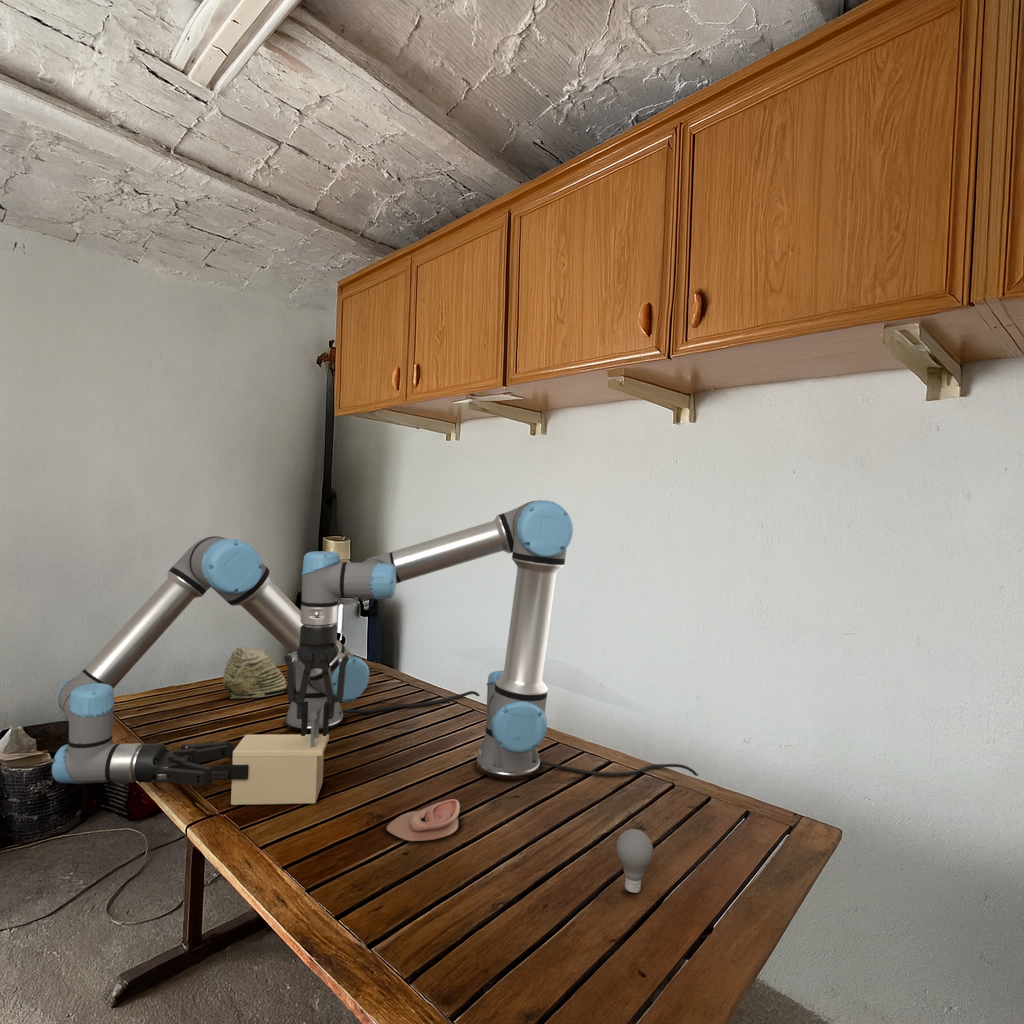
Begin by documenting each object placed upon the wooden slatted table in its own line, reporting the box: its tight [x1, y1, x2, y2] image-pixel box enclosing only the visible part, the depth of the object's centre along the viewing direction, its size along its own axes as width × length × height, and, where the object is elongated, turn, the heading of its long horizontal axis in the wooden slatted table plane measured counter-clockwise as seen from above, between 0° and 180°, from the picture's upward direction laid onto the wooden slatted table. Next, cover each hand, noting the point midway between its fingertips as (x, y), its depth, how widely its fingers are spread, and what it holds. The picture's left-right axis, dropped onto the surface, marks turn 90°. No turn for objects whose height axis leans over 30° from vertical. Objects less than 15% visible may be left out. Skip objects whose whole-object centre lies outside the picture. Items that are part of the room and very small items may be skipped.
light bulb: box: [615, 828, 654, 894], centre depth 106 cm, size 6×6×10 cm
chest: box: [230, 751, 325, 806], centre depth 134 cm, size 17×9×10 cm, turn 98°
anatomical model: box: [386, 798, 461, 842], centre depth 123 cm, size 13×4×12 cm
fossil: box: [222, 646, 288, 699], centre depth 198 cm, size 9×18×15 cm, turn 132°
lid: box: [233, 703, 330, 757], centre depth 134 cm, size 18×9×8 cm, turn 98°
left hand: (254, 761), depth 134 cm, fingers closed on chest, 9 cm apart
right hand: (314, 733), depth 135 cm, fingers open, 4 cm apart
